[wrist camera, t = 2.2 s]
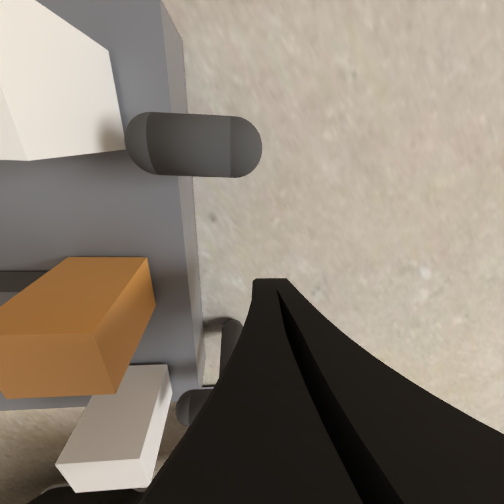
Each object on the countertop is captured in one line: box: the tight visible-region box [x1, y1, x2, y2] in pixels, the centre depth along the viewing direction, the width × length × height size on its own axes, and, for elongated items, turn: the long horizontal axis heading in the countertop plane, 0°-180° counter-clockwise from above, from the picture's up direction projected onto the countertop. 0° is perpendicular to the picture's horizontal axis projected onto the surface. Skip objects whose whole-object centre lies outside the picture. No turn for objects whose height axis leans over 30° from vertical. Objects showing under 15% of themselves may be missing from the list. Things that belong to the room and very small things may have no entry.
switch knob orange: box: [0, 257, 156, 399], centre depth 8 cm, size 2×3×4 cm
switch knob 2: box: [55, 364, 172, 493], centre depth 11 cm, size 2×3×4 cm
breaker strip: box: [0, 0, 205, 411], centre depth 11 cm, size 18×12×3 cm, turn 177°
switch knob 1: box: [0, 0, 126, 161], centre depth 5 cm, size 2×3×4 cm
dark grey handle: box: [124, 112, 262, 426], centre depth 10 cm, size 12×3×6 cm, turn 177°
